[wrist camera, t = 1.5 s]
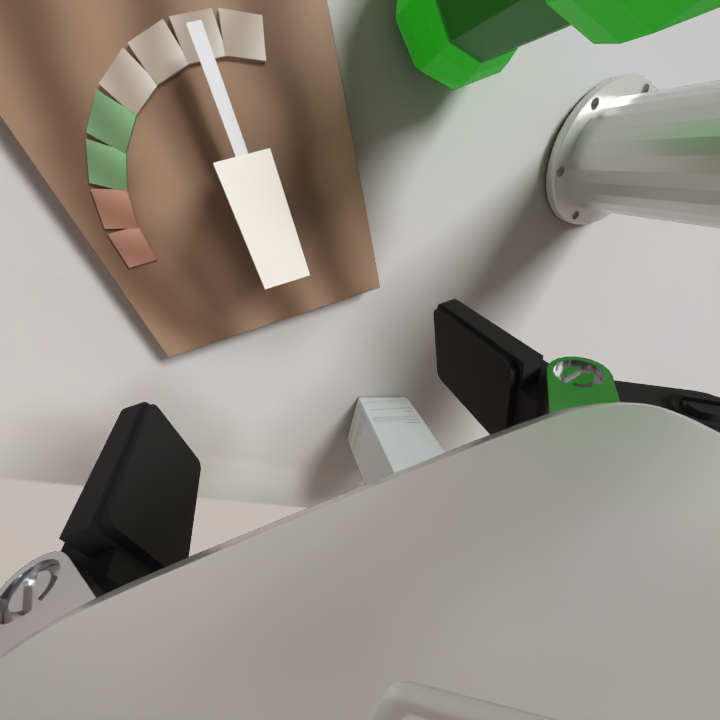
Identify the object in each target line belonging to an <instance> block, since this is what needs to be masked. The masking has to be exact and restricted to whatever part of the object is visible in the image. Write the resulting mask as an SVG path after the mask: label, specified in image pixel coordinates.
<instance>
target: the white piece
mask: <svg viewBox="0 0 720 720" xmlns="http://www.w3.org/2000/svg"><path fill="white" fill-rule="evenodd" d="M186 25H187V27H188V30H189V33H190V35H191V38H192V41H193V43H194V46H195V49H196V51H197V54H198V57H199V59H200V62H201V65H202V68H203V70H204V73H205V76H206V78H207V81H208V84H209V86H210V89H211V92H212V94H213V97H214V100H215V102H216V105H217V108H218V110H219V113H220V116H221V118H222V121H223V124H224V127H225V129H226V132H227V135H228V137H229V140H230V143H231V145H232V148H233V151H234V153H235V156H236V157H234V158H230V159H226V160H222V161H218V162H214V163H213V164H214V167H215V169H216V172H217V174H218V177H219V179H220V181H221V184H222V186H223V189H224V191H225V194H226V196H227V198H228V201H229V203H230V206H231V208H232V211H233V213H234V215H235V218H236V220H237V223H238V225H239V227H240V230H241V232H242V235H243V237H244V240H245V242H246V244H247V247H248V249H249V252H250V254H251V257H252V259H253V261H254V264H255V266H256V269H257V271H258V273H259V276H260V278H261V281H262V283H263V286H264V288H265V289H268V288H271V287H274V286H278V285H281V284H284V283H287V282H290V281H293V280H297V279H300V278H303V277H306V276H309V275H310V273H309V270H308V267H307V264H306V261H305V257H304V254H303V251H302V248H301V245H300V242H299V238H298V235H297V232H296V229H295V226H294V223H293V219H292V216H291V213H290V210H289V207H288V204H287V200H286V197H285V194H284V191H283V188H282V185H281V181H280V178H279V175H278V172H277V169H276V166H275V162H274V159H273V156H272V153H271V150H270V148H268V149H264V150H261V151H257V152H253V153H249V154H248V151H247V148H246V145H245V143H244V140H243V137H242V134H241V131H240V128H239V125H238V123H237V120H236V117H235V114H234V111H233V108H232V106H231V103H230V100H229V97H228V94H227V91H226V88H225V86H224V83H223V80H222V77H221V74H220V71H219V69H218V66H217V63H216V60H215V57H214V54H213V51H212V49H211V46H210V43H209V40H208V37H207V34H206V32H205V29H204V26H203V23H202V20H197V21H192V22H187V23H186Z"/></svg>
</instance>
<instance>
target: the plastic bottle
mask: <svg viewBox="0 0 720 720" xmlns="http://www.w3.org/2000/svg"><path fill="white" fill-rule="evenodd" d="M719 7H720V0H396V22H397V25H398V27H399V29H400V32H401V34H402V37H403V39H404V42H405V44H406V47H407V49H408V52H409V54H410V56H411V59H412V61H413V64H414V66H415V68H417V69H418V70H419V71H421V72H423V73H425V74H426V75H428V76H430V77H432V78H433V79H435V80H437V81H438V82H440V83H442V84H444V85H445V86H447V87H449V88H451V89H452V90H454V89H457V88H460V87H463V86H465V85H468V84H470V83H473V82H476V81H478V80H481V79H483V78H486V77H488V76H491V75H494V74H496V73H499V72H500V71H501V70H502V69H503V68H504V67H505V65H506V64H507V63H508V62H509V61H510V59H511V58H512V56H513V55H514V53H515V52H516V50H517V49H518V47H520V46H522V45H525V44H527V43H529V42H532V41H534V40H537V39H539V38H541V37H544V36H546V35H549V34H551V33H554V32H556V31H558V30H561V29H563V28H566V27H568V26H570V25H572V26H573V27H575V28H576V29H577V30H578V31H579V32H581V33H582V34H583V35H584V36H585V37H586V38H588V39H589V40H590V41H591V42H592V43H594V44H620V43H624V42H627V41H630V40H633V39H637V38H640V37H643V36H646V35H649V34H653V33H655V32H658V31H660V30H663V29H665V28H668V27H671V26H673V25H676V24H678V23H681V22H683V21H686V20H688V19H691V18H693V17H696V16H698V15H701V14H704V13H706V12H709V11H711V10H714V9H716V8H719Z"/></svg>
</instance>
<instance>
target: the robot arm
mask: <svg viewBox="0 0 720 720" xmlns="http://www.w3.org/2000/svg"><path fill="white" fill-rule="evenodd" d="M546 191H547V197H548V201H549V204H550V206H551V209H552V210H553V212H554V213H555V215H556V216H557V217H559V218H560V219H561V220H563V221H565V222H568V223H572V224H579V225H583V224H590V223H593V222H596V221H599V220H600V219H602V218H604V217H606V216H608V215H609V214H610V213H616V214H623V215H630V216H637V217H644V218H651V219H658V220H665V221H672V222H679V223H686V224H693V225H700V226H706V227H713V228H720V80H717V81H711V82H705V83H699V84H693V85H687V86H681V87H676V88H670V89H664V90H658V89H657V88H656V86H655V85H654V83H653V82H652V81H651V80H650V79H648V78H647V77H645V76H643V75H639V74H627V75H622V76H618V77H614V78H611V79H608V80H607V81H605V82H603V83H601V84H599V85H598V86H596V87H595V88H594V89H593V90H591V91H590V92H589V93H588V94H587V95H586V96H585V97H584V98H583V99H582V100H581V101H580V102H579V103H578V104H577V105H576V107H575V108H574V109H573V111H572V112H571V114H570V115H569V116H568V118H567V119H566V121H565V123H564V125H563V127H562V128H561V130H560V132H559V134H558V136H557V139H556V141H555V144H554V146H553V149H552V152H551V156H550V159H549V163H548V169H547V176H546ZM434 327H435V342H436V358H437V371H438V375H439V377H440V379H441V381H442V382H443V383H444V384H445V385H446V386H447V387H448V388H449V389H450V391H451V392H452V393H453V394H454V395H455V396H456V397H457V398H458V399H459V401H460V402H461V403H462V404H463V405H464V406H465V407H466V408H467V409H468V411H469V412H470V413H471V414H472V415H473V416H474V417H475V418H476V419H477V420H478V422H479V423H480V424H481V425H482V426H483V427H484V428H485V429H486V430H487V432H488V433H489V434H490V435H488V436H486V437H483V438H481V439H478V440H475V441H473V442H470V443H468V444H465V445H463V446H460V447H458V448H455V449H453V450H450V451H448V452H445V453H443V454H440V455H438V456H435V457H433V458H430V459H428V460H425V461H423V462H420V463H418V464H415V465H413V466H410V467H408V468H405V469H403V470H400V471H398V472H395V473H393V474H390V475H388V476H386V477H383V478H381V479H378V480H376V481H373V482H371V483H368V484H366V485H363V486H361V487H358V488H356V489H353V490H351V491H349V492H346V493H344V494H341V495H339V496H336V497H334V498H331V499H329V500H326V501H324V502H322V503H319V504H317V505H314V506H312V507H309V508H307V509H304V510H302V511H300V512H297V513H295V514H292V515H290V516H287V517H285V518H283V519H280V520H278V521H275V522H273V523H271V524H268V525H266V526H263V527H261V528H258V529H256V530H253V531H251V532H248V533H246V534H244V535H241V536H239V537H236V538H234V539H231V540H229V541H227V542H224V543H222V544H219V545H217V546H215V547H212V548H210V549H207V550H205V551H202V552H200V553H198V554H195V555H193V556H190V557H189V550H190V543H191V535H192V528H193V521H194V513H195V506H196V499H197V492H198V485H199V478H200V471H201V467H200V462H199V460H198V458H197V457H196V456H195V454H194V453H193V452H192V450H191V449H190V448H189V447H188V445H187V444H186V443H185V441H184V440H183V439H182V438H181V436H180V435H179V434H178V432H177V431H176V430H175V429H174V427H173V426H172V425H171V423H170V422H169V421H168V420H167V418H166V417H165V416H164V414H163V413H162V412H161V411H160V409H159V408H158V407H157V406H156V405H154V404H152V405H150V404H148V403H146V402H143V403H140V404H137V405H134V406H131V407H128V408H125V409H123V410H122V411H121V413H120V415H119V417H118V419H117V421H116V423H115V425H114V427H113V429H112V431H111V433H110V435H109V438H108V440H107V442H106V444H105V446H104V448H103V450H102V452H101V454H100V456H99V458H98V460H97V462H96V464H95V466H94V468H93V470H92V472H91V474H90V476H89V478H88V480H87V483H86V485H85V487H84V489H83V491H82V493H81V495H80V497H79V499H78V501H77V503H76V505H75V507H74V509H73V511H72V514H71V515H70V517H69V520H68V521H67V523H66V526H65V528H64V530H63V532H62V534H61V536H60V538H59V539H61V540H62V541H64V542H65V543H64V546H63V548H62V550H61V552H51V553H48V554H45V555H42V556H40V557H38V558H36V559H35V560H33V561H31V562H30V563H28V564H27V565H26V566H24V567H23V568H21V569H20V570H19V571H18V572H17V573H15V574H14V575H13V576H12V577H11V578H10V579H9V580H8V581H7V582H6V583H5V584H4V585H3V586H2V588H1V589H0V720H720V398H719V397H716V396H713V395H710V394H707V393H703V392H698V391H692V390H684V389H676V388H668V387H661V386H653V385H645V384H637V383H629V382H622V381H614V380H613V376H612V374H611V373H610V371H609V370H608V369H607V368H606V367H605V366H603V365H602V364H600V363H598V362H596V361H593V360H590V359H586V358H581V357H563V358H558V359H556V360H554V361H552V362H551V363H550V364H549V363H547V362H546V361H544V360H543V355H541V354H540V353H538V352H536V351H535V350H533V349H532V348H530V347H529V346H527V345H526V344H524V343H523V342H521V341H519V340H518V339H516V338H515V337H513V336H512V335H510V334H509V333H507V332H506V331H504V330H503V329H501V328H499V327H498V326H496V325H495V324H493V323H492V322H490V321H489V320H487V319H486V318H484V317H483V316H481V315H479V314H478V313H476V312H475V311H473V310H472V309H470V308H469V307H467V306H466V305H464V304H462V303H461V302H459V301H458V300H456V299H453V300H450V301H447V302H444V303H441V304H439V305H438V307H437V309H436V310H435V311H434Z"/></svg>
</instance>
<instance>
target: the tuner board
mask: <svg viewBox="0 0 720 720" xmlns="http://www.w3.org/2000/svg"><path fill="white" fill-rule="evenodd" d="M197 20H202V23H203V26H204V29H205V32H206V34H207V37H208V40H209V43H210V46H211V49H212V51H213V54H214V57H215V60H216V63H217V66H218V69H219V71H220V74H221V77H222V80H223V83H224V86H225V88H226V91H227V94H228V97H229V100H230V103H231V106H232V108H233V111H234V114H235V117H236V120H237V123H238V125H239V128H240V131H241V134H242V137H243V140H244V143H245V145H246V148H247V151H248V154H249V153H253V152H257V151H261V150H264V149H268V148H270V150H271V153H272V156H273V159H274V162H275V166H276V169H277V172H278V175H279V178H280V181H281V185H282V188H283V191H284V194H285V197H286V200H287V204H288V207H289V210H290V213H291V216H292V219H293V223H294V226H295V229H296V232H297V235H298V238H299V242H300V245H301V248H302V251H303V254H304V257H305V261H306V264H307V267H308V270H309V273H310V275H309V276H306V277H303V278H300V279H297V280H293V281H290V282H287V283H284V284H281V285H278V286H274V287H271V288H268V289H265V288H264V286H263V283H262V281H261V278H260V276H259V273H258V271H257V269H256V266H255V264H254V261H253V259H252V257H251V254H250V252H249V249H248V247H247V244H246V242H245V240H244V237H243V235H242V232H241V230H240V227H239V225H238V223H237V220H236V218H235V215H234V213H233V211H232V208H231V206H230V203H229V201H228V198H227V196H226V194H225V191H224V189H223V186H222V184H221V181H220V179H219V177H218V174H217V172H216V169H215V167H214V164H213V163H214V162H218V161H222V160H226V159H230V158H234V157H236V156H235V153H234V151H233V148H232V145H231V143H230V140H229V137H228V135H227V132H226V129H225V127H224V124H223V121H222V118H221V116H220V113H219V110H218V108H217V105H216V102H215V100H214V97H213V94H212V92H211V89H210V86H209V84H208V81H207V78H206V76H205V73H204V70H203V68H202V65H201V62H200V59H199V57H198V54H197V51H196V49H195V46H194V43H193V41H192V38H191V35H190V33H189V30H188V27H187V25H186V23H187V22H192V21H197ZM0 116H1V117H2V119H3V120H4V122H5V123H6V125H7V126H8V128H9V129H10V130H11V132H12V133H13V135H14V136H15V138H16V139H17V140H18V142H19V143H20V145H21V146H22V148H23V149H24V151H25V152H26V153H27V155H28V156H29V158H30V159H31V161H32V162H33V163H34V165H35V166H36V168H37V169H38V171H39V172H40V174H41V175H42V176H43V178H44V179H45V181H46V182H47V184H48V185H49V186H50V188H51V189H52V191H53V192H54V194H55V195H56V196H57V198H58V199H59V201H60V202H61V204H62V205H63V207H64V208H65V209H66V211H67V212H68V214H69V215H70V217H71V218H72V219H73V221H74V222H75V224H76V225H77V227H78V228H79V230H80V231H81V232H82V234H83V235H84V237H85V238H86V240H87V241H88V242H89V244H90V245H91V247H92V248H93V250H94V251H95V252H96V254H97V255H98V257H99V258H100V260H101V261H102V263H103V264H104V265H105V267H106V268H107V270H108V271H109V273H110V274H111V275H112V277H113V278H114V280H115V281H116V283H117V284H118V286H119V287H120V288H121V290H122V291H123V293H124V294H125V296H126V297H127V298H128V300H129V301H130V303H131V304H132V306H133V307H134V309H135V310H136V311H137V313H138V314H139V316H140V317H141V319H142V320H143V321H144V323H145V324H146V326H147V327H148V329H149V330H150V331H151V333H152V334H153V336H154V337H155V339H156V340H157V342H158V343H159V344H160V346H161V347H162V349H163V350H164V352H165V353H166V354H167V356H168V357H171V356H174V355H177V354H180V353H183V352H186V351H189V350H192V349H196V348H199V347H202V346H205V345H208V344H211V343H214V342H217V341H220V340H223V339H226V338H229V337H232V336H235V335H238V334H241V333H244V332H247V331H250V330H253V329H256V328H259V327H262V326H265V325H268V324H271V323H274V322H277V321H280V320H283V319H286V318H289V317H292V316H295V315H298V314H301V313H304V312H307V311H310V310H313V309H316V308H319V307H322V306H325V305H328V304H331V303H334V302H337V301H340V300H343V299H346V298H349V297H353V296H356V295H359V294H362V293H365V292H368V291H371V290H374V289H377V288H380V284H379V279H378V274H377V268H376V263H375V258H374V252H373V247H372V241H371V236H370V231H369V225H368V220H367V214H366V209H365V204H364V198H363V193H362V187H361V182H360V177H359V171H358V166H357V161H356V155H355V150H354V144H353V139H352V134H351V128H350V123H349V117H348V112H347V107H346V101H345V96H344V90H343V85H342V80H341V74H340V69H339V64H338V58H337V53H336V47H335V42H334V37H333V31H332V26H331V20H330V15H329V10H328V4H327V0H0Z"/></svg>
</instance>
